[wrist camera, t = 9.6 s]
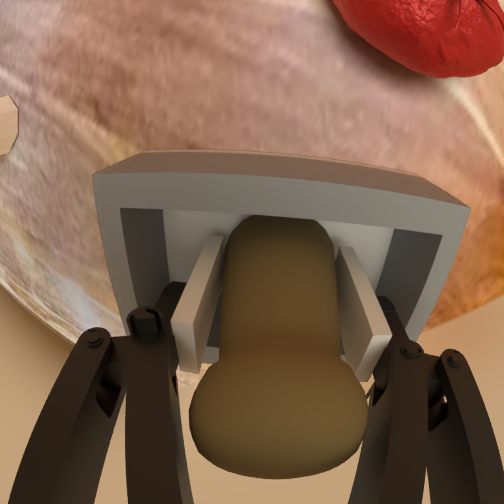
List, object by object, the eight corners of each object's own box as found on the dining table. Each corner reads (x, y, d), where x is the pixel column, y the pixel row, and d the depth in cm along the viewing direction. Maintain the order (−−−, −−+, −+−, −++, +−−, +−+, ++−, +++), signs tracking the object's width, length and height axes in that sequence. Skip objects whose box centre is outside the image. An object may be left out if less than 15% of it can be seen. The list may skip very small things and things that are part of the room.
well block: (377, 308, 20) (400, 368, 15) (161, 292, 20) (131, 350, 15) (416, 174, 15) (470, 207, 10) (147, 150, 15) (92, 174, 10)
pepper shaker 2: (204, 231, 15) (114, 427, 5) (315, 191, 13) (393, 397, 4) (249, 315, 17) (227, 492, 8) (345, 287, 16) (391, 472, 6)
